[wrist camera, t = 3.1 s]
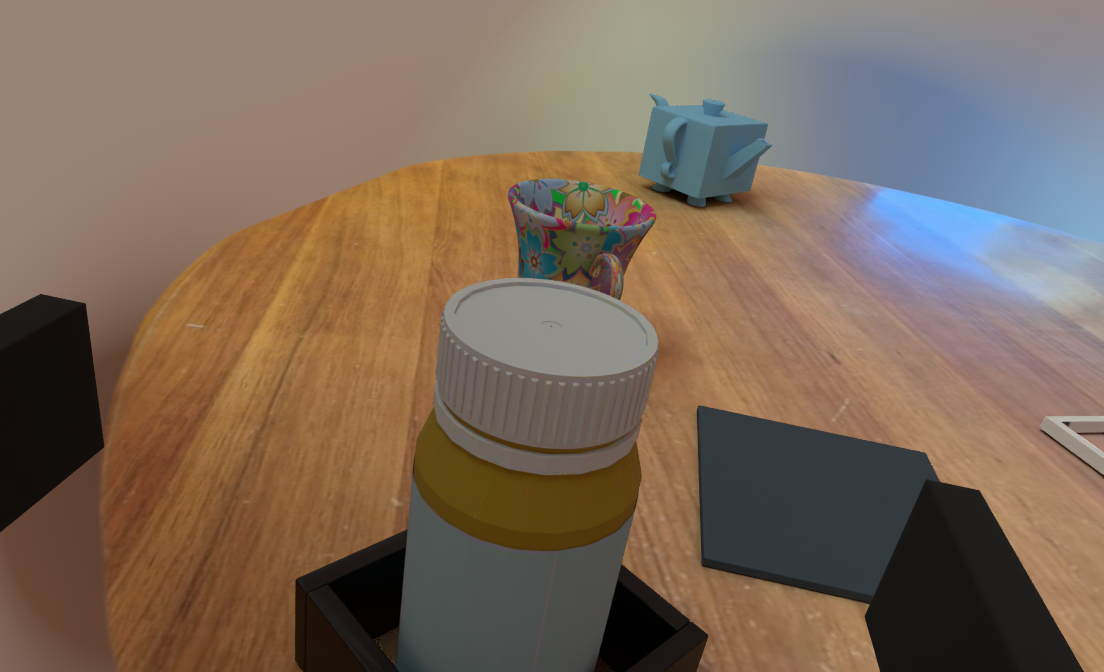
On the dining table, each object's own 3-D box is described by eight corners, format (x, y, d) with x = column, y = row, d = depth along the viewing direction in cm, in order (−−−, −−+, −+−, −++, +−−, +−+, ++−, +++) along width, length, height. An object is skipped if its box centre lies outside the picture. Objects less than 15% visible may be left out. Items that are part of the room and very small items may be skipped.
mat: (701, 565, 36) (704, 557, 36) (696, 411, 48) (698, 404, 48) (1008, 634, 35) (1013, 626, 35) (922, 459, 47) (925, 452, 47)
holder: (294, 660, 28) (294, 578, 26) (507, 550, 35) (518, 479, 33) (465, 902, 22) (480, 816, 20) (683, 711, 29) (709, 635, 27)
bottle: (422, 804, 24) (472, 397, 18) (375, 632, 30) (400, 274, 23) (617, 744, 27) (723, 375, 20) (542, 597, 33) (606, 270, 26)
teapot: (709, 223, 85) (736, 120, 80) (594, 175, 96) (611, 82, 91) (785, 209, 95) (813, 117, 90) (673, 167, 106) (692, 83, 101)
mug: (475, 319, 55) (493, 174, 50) (596, 319, 58) (623, 182, 53) (519, 412, 45) (546, 242, 40) (662, 407, 48) (702, 247, 44)
